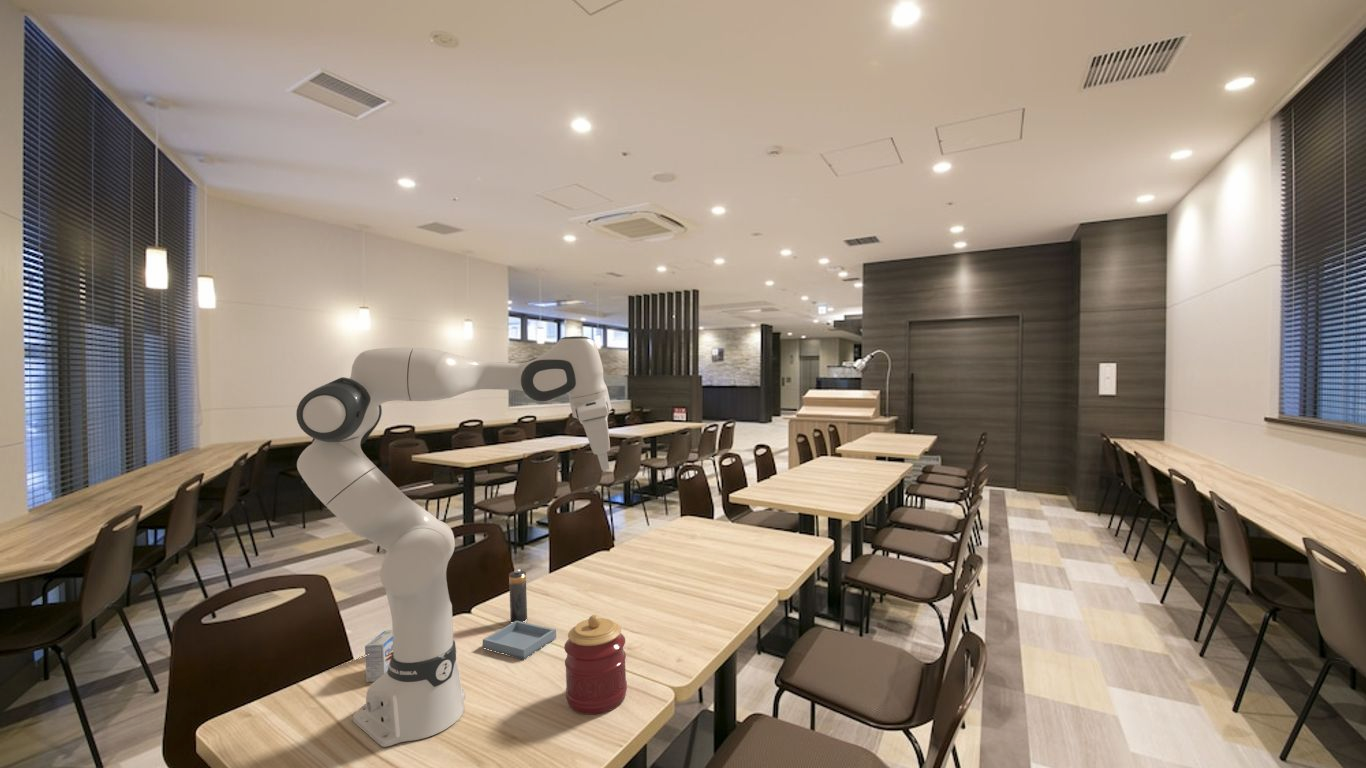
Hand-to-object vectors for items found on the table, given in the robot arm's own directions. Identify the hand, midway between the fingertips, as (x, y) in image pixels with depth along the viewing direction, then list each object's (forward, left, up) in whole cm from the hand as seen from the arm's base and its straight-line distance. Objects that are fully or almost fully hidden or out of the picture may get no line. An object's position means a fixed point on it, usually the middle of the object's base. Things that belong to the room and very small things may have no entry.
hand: (604, 464), depth 121 cm
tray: (-32, +5, -49) cm, 59 cm away
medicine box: (-52, -19, -49) cm, 74 cm away
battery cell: (-42, +15, -49) cm, 66 cm away
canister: (+1, -7, -49) cm, 50 cm away
